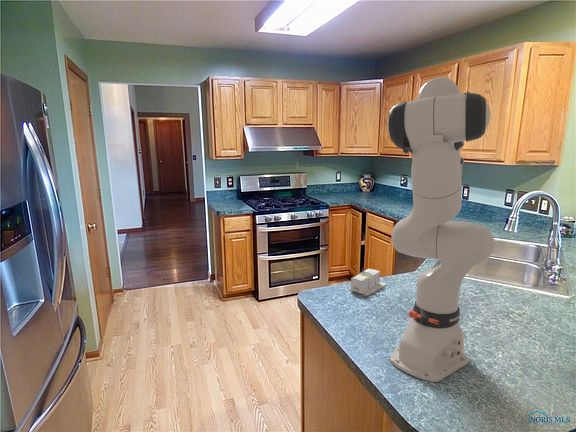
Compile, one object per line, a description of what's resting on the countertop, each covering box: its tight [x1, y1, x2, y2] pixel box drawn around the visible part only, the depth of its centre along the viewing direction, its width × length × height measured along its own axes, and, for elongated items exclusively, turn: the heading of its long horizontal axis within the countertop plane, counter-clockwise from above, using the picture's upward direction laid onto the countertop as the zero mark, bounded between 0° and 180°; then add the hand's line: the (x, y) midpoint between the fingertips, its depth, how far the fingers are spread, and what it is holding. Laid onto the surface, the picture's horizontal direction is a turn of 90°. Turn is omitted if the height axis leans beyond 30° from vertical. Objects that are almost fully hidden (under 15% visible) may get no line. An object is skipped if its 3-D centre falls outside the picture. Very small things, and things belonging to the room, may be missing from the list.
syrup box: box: [350, 268, 381, 295], centre depth 145 cm, size 6×6×14 cm
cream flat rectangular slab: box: [348, 281, 388, 296], centre depth 147 cm, size 15×9×1 cm, turn 133°
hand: (444, 198), depth 127 cm, fingers closed
